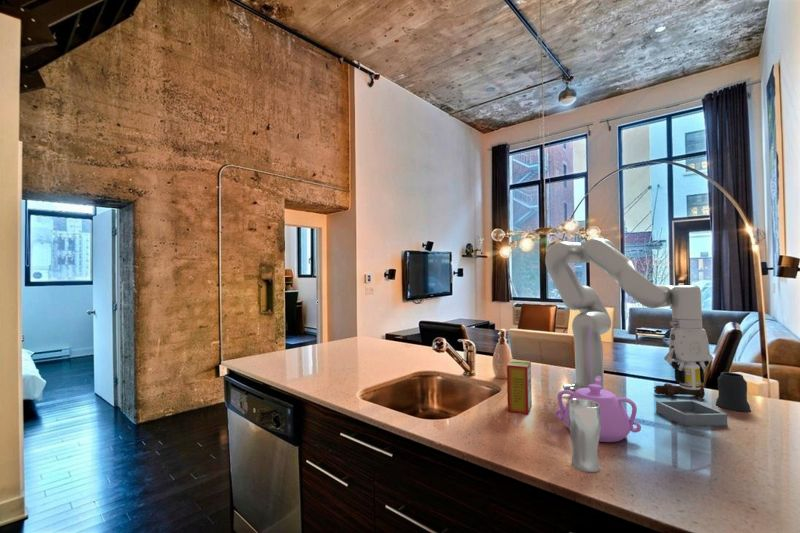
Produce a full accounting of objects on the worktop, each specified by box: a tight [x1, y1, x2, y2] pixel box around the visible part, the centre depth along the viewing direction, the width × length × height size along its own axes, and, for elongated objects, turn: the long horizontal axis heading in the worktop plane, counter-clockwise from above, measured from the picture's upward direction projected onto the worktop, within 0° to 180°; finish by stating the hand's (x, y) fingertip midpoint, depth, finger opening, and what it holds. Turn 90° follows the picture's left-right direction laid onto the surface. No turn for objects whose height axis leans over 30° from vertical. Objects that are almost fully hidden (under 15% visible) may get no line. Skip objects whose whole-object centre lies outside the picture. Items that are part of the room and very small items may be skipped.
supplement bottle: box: [678, 362, 702, 390], centre depth 119 cm, size 5×5×10 cm
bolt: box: [653, 382, 706, 399], centre depth 141 cm, size 6×5×15 cm
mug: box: [715, 371, 752, 413], centre depth 130 cm, size 12×9×11 cm
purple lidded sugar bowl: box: [554, 376, 642, 443], centre depth 111 cm, size 22×22×14 cm
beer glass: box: [568, 399, 601, 474], centre depth 90 cm, size 7×7×15 cm
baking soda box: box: [506, 359, 533, 416], centre depth 129 cm, size 10×6×16 cm
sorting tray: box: [655, 399, 728, 428], centre depth 119 cm, size 13×13×4 cm
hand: (689, 381), depth 119 cm, fingers closed on supplement bottle, 5 cm apart
